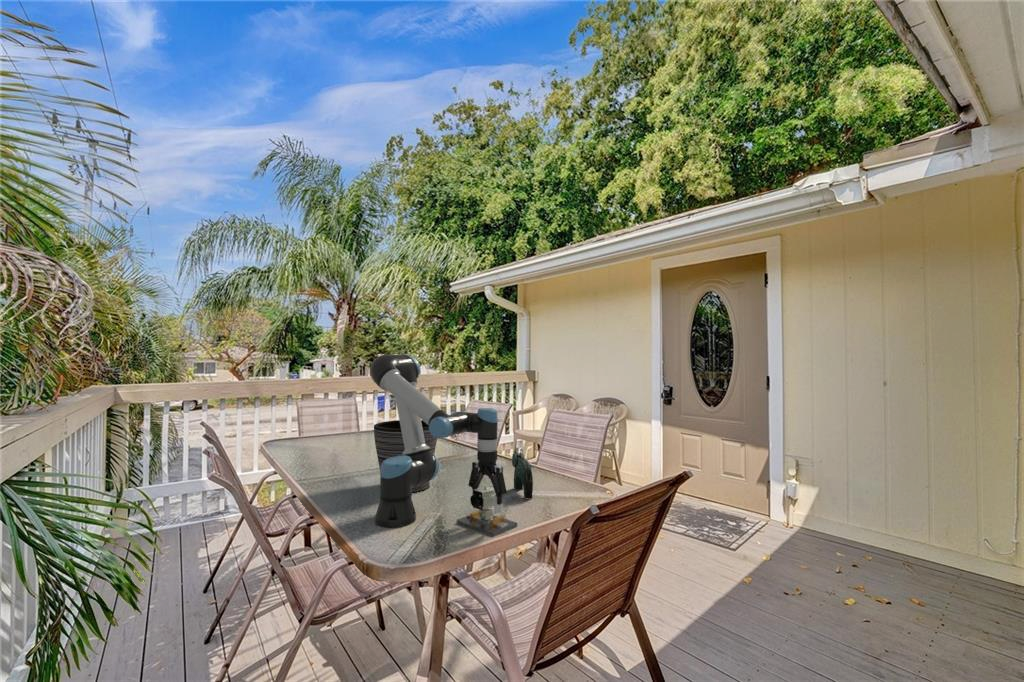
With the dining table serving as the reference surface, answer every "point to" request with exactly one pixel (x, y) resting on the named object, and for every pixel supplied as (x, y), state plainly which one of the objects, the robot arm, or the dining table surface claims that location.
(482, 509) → the pneumatic valve
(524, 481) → the green spring clamp
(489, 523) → the rail plate
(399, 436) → the planter pot
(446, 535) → the dining table surface
